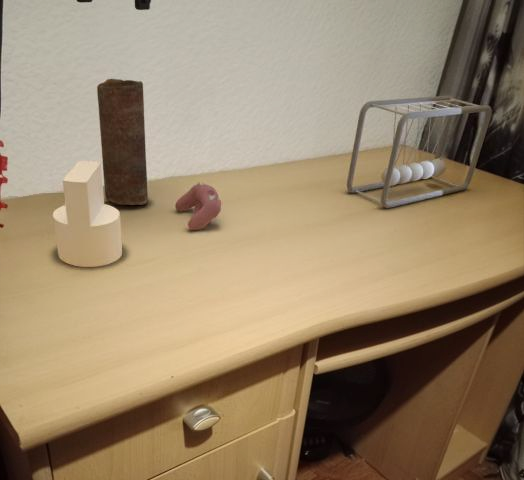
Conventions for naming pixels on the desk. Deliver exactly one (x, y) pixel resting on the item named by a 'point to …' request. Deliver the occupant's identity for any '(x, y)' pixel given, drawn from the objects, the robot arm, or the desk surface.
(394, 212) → the desk surface
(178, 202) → the video game controller
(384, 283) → the desk surface
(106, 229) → the base with upright slab
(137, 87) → the rusty brown cylinder
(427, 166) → the newton's cradle
